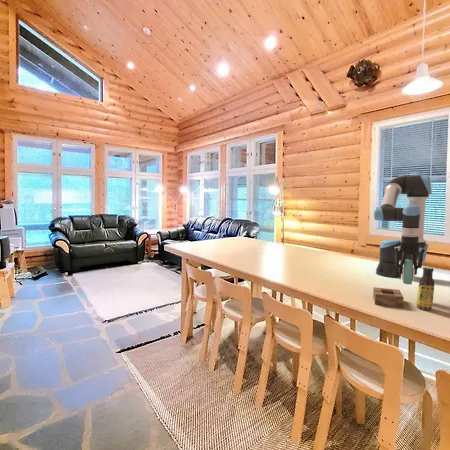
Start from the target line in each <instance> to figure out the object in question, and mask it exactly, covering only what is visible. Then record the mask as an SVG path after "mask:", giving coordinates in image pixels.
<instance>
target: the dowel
mask: <svg viewBox="0 0 450 450" xmlns="http://www.w3.org/2000/svg"><path fill="white" fill-rule="evenodd" d="M403 267H404V281H403V280H402V283H403V284H405V285H413V281H412V274H413V268H414V265H413V261H412V260H405V261H404V265H403Z"/></svg>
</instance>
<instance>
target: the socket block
mask: <svg viewBox="0 0 450 450" xmlns="http://www.w3.org/2000/svg"><path fill="white" fill-rule="evenodd" d="M372 289H373V291H372V299H373V302H374V305H377V306H378V305H379V306H387V307H396V308H404V296H403V294H402V292H401V290H400V289H395V288H394V289H393V288H385V287H384V288H383V287H373V288H372Z"/></svg>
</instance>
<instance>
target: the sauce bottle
mask: <svg viewBox="0 0 450 450" xmlns="http://www.w3.org/2000/svg"><path fill="white" fill-rule="evenodd" d="M422 271H423V272H422V276H421V277H420V279H419V281H418V287H417V288H418V289H417V297H416V307H417V308H418V309H420V310H422V311H431V310H432V307H433V302H434V293H435V280H434V279H433V273H434V267H432V266H423V267H422Z"/></svg>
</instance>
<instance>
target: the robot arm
mask: <svg viewBox="0 0 450 450" xmlns="http://www.w3.org/2000/svg"><path fill="white" fill-rule="evenodd" d="M431 181H432V180H431V177H430V175H427V174H426V175H423V174H420V175H419V174H418V175H401V176H396V177H394V178H392V179H391V180H390V181H388V182H387V183H386V184H385V185H384V186H385V187H384V190H383V192H384V195H383V198H382V201H381V204H380V206H379V207H378V206H377V207H374V211H373V219H374V220H375V221H380V222H401V223H402V225H401V240H400V239H395V238H394V239H384V240H381V241H380V245H379V259H378V264H377V267H376V268H375V274H376V275H379V276H382V277H386V278H387V277H388V278H400V280H401V281H402V282H403V281H404V261H405V260H412V261H413V274H412V282H415V276H416V275H418V269H421V268H423V267H422V266H423V263H424V262H425V261H426V258H427V253H428V249H429V244H428V243H427V242H426V241H427V240H425V238H424V231H425V230H424V229H425V212H426V201H427V199H429V197H430V195H432V194H433V193H432V182H431ZM400 195H406V198H407V199H408V200H409V203H408V205H404V206H403V207H396V206H397V203H398V200H399V198H398V197H399V196H400Z"/></svg>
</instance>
